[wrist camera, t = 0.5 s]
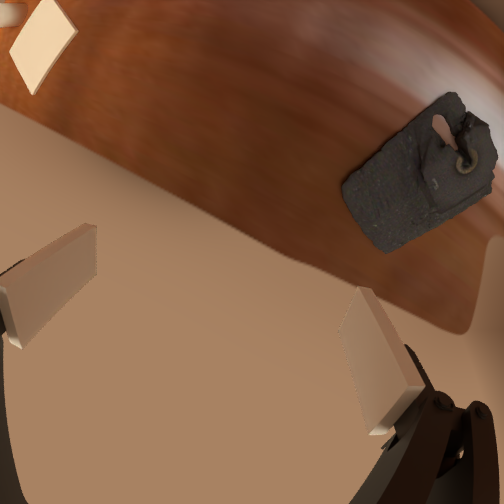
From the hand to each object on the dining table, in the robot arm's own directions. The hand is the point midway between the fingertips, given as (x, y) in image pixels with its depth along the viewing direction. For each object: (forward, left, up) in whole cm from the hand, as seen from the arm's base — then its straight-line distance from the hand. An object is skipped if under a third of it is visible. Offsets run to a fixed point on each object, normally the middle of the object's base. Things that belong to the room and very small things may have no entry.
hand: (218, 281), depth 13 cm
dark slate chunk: (-16, +11, -25) cm, 31 cm away
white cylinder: (+19, -54, -24) cm, 62 cm away
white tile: (+18, -42, -24) cm, 51 cm away
